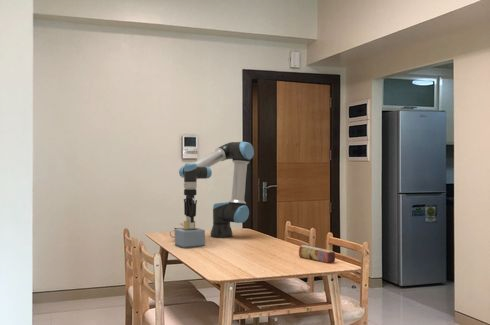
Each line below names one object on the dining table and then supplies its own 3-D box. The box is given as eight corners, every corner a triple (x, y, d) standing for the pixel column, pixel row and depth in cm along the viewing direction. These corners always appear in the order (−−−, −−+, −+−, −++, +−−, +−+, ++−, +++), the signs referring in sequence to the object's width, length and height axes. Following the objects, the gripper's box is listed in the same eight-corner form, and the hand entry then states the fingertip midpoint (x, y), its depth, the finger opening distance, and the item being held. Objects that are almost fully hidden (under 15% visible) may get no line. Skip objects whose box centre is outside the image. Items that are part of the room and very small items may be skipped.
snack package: (336, 262, 264) (336, 249, 264) (327, 264, 260) (327, 250, 260) (306, 256, 281) (306, 244, 281) (297, 257, 276) (297, 245, 276)
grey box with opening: (195, 243, 319) (195, 227, 319) (204, 246, 309) (204, 229, 309) (175, 245, 312) (175, 229, 312) (183, 248, 302) (183, 231, 301)
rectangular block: (192, 227, 313) (192, 220, 313) (195, 228, 310) (195, 221, 310) (183, 228, 310) (183, 220, 310) (186, 229, 307) (186, 221, 307)
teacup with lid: (187, 239, 334) (187, 222, 334) (189, 242, 325) (189, 223, 325) (168, 240, 331) (169, 222, 331) (170, 242, 322) (170, 224, 322)
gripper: (178, 188, 315) (178, 226, 315) (190, 189, 301) (190, 229, 301) (189, 188, 319) (189, 225, 319) (202, 189, 305) (201, 228, 305)
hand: (189, 227), depth 310 cm, fingers closed on rectangular block, 3 cm apart
